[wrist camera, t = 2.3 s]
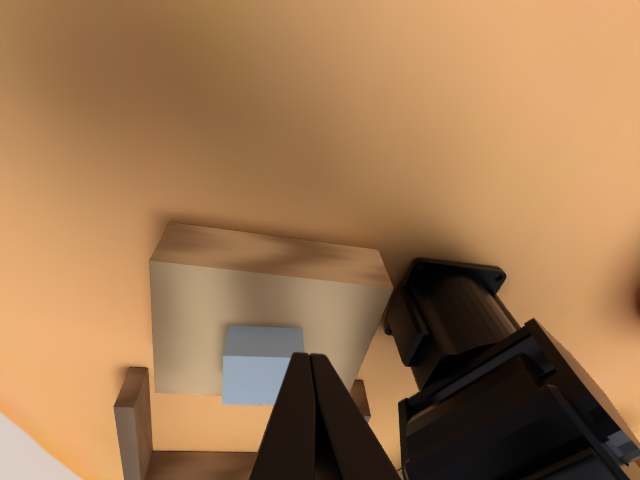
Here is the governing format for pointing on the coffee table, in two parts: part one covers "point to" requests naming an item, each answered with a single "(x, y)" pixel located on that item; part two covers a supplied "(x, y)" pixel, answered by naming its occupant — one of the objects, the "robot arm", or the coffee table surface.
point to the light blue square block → (257, 363)
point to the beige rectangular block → (258, 300)
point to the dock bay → (178, 467)
